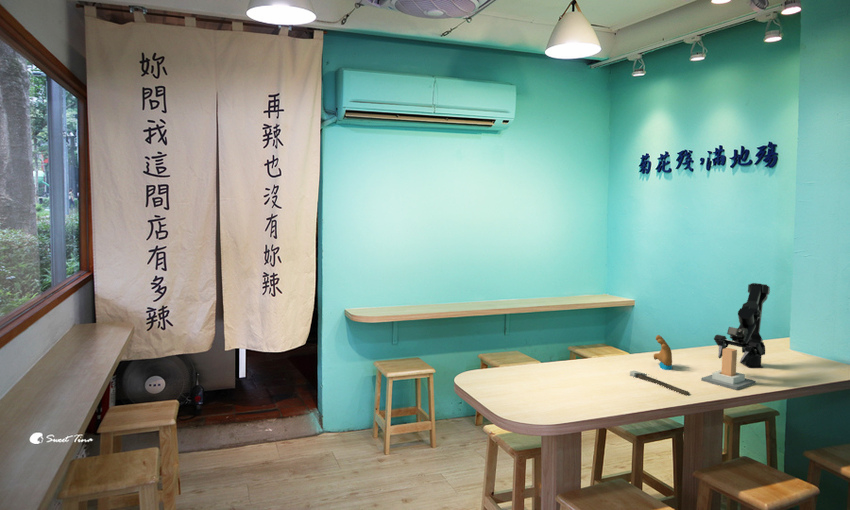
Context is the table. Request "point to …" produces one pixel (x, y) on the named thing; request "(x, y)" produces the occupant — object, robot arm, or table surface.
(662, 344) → the toy
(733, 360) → the tan square peg
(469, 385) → the table surface
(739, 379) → the housing
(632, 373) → the axe
